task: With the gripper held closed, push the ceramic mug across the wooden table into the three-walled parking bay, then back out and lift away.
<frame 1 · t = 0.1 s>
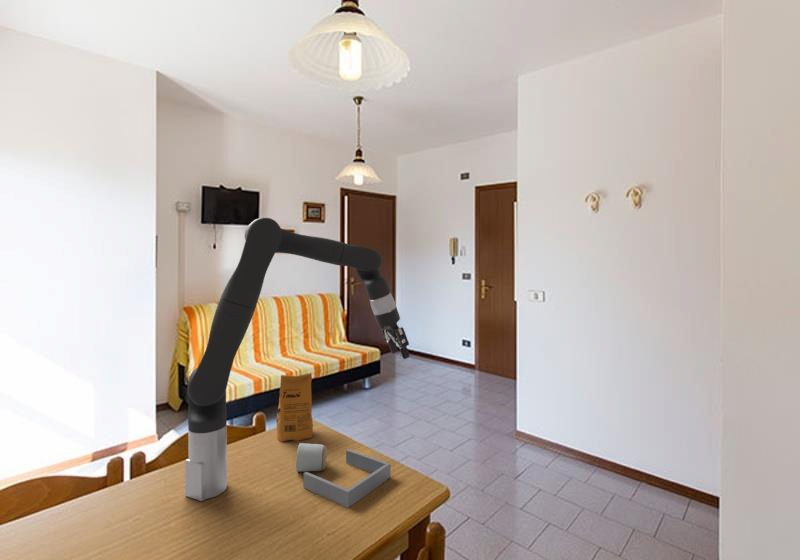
hand: (400, 355, 133), 31 cm above the table, tool tilted 20°, fingers open, 8 cm apart
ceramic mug: (311, 468, 123), on the table
parking bay: (346, 481, 114), on the table
coffee package: (294, 436, 145), on the table
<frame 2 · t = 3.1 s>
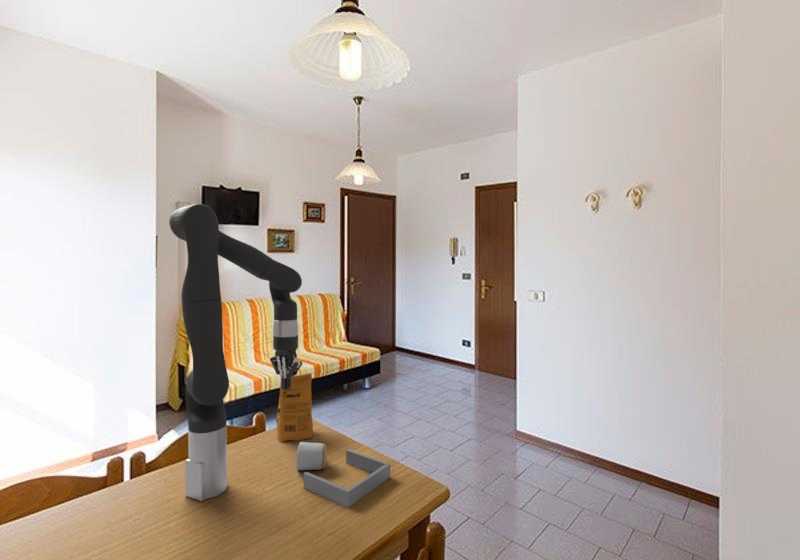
hand: (286, 389, 128), 22 cm above the table, tool pointing down, fingers closed
nothing on the table moved.
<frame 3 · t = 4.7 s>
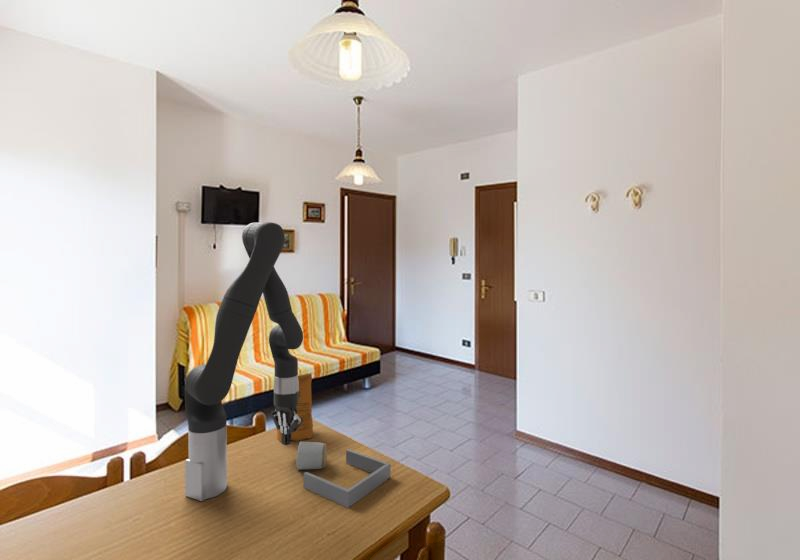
hand: (286, 444, 129), 4 cm above the table, tool pointing down, fingers closed
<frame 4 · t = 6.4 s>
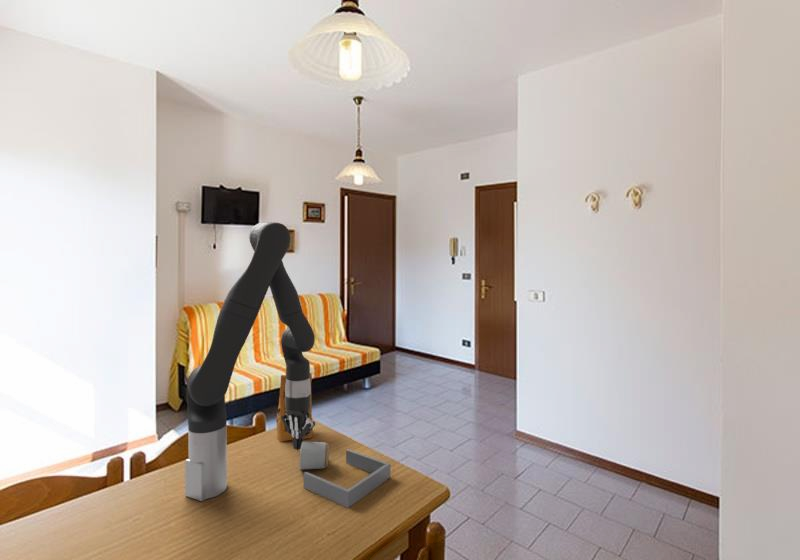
hand: (297, 448, 126), 4 cm above the table, tool pointing down, fingers closed
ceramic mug: (313, 466, 124), on the table, touching gripper
everything else where it was.
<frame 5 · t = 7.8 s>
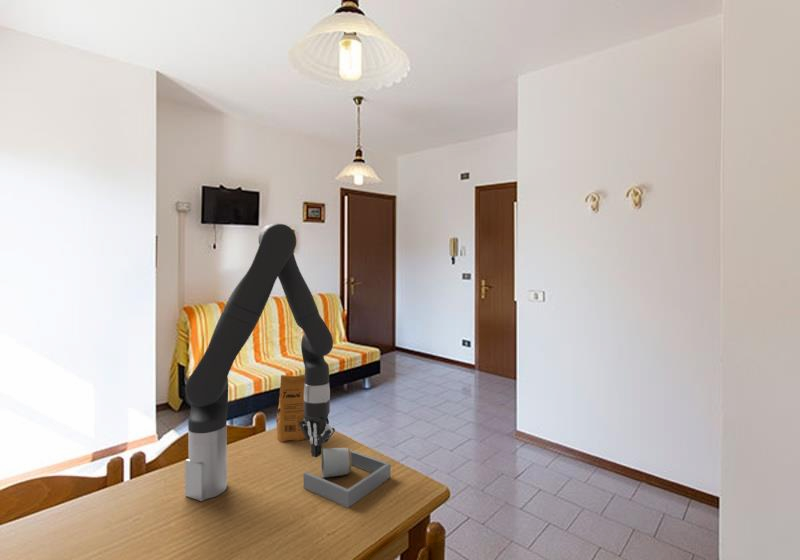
hand: (316, 455, 121), 4 cm above the table, tool pointing down, fingers closed
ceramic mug: (334, 473, 120), on the table, touching gripper
everything else where it was.
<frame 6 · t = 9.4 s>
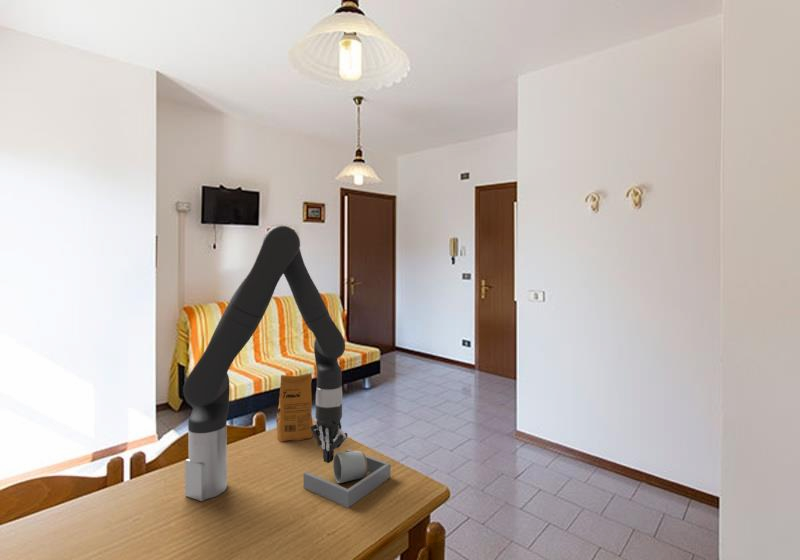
hand: (328, 461, 118), 4 cm above the table, tool pointing down, fingers closed
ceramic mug: (347, 477, 117), on the table, touching gripper
everything else where it was.
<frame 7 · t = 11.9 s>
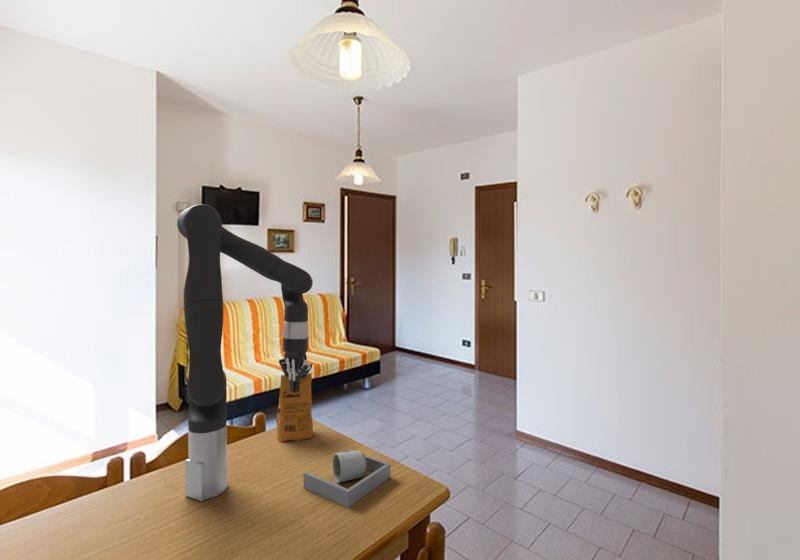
hand: (294, 392, 126), 21 cm above the table, tool pointing down, fingers closed
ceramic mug: (347, 477, 118), on the table
everything else where it was.
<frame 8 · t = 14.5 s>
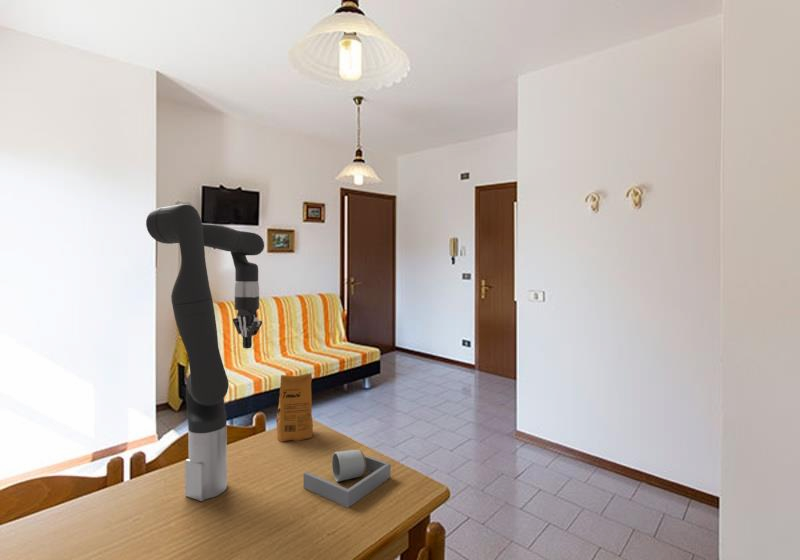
hand: (247, 347, 134), 33 cm above the table, tool pointing down, fingers closed
nothing on the table moved.
at the end: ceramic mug inside the target area on the parking bay (3.8 cm from its centre), point 0.0 cm above the parking bay's base; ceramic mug tilted 0° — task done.
